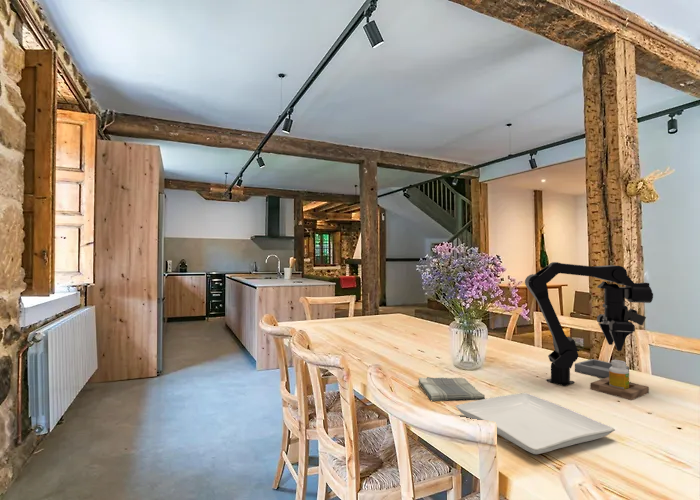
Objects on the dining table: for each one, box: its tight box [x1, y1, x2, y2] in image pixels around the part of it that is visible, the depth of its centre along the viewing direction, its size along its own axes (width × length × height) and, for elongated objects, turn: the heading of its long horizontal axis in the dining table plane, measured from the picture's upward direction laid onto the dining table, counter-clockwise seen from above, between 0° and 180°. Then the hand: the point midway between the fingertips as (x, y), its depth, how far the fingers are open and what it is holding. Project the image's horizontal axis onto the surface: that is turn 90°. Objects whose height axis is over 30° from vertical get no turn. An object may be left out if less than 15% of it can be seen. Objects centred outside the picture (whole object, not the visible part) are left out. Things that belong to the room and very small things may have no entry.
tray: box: [574, 358, 630, 379], centre depth 146 cm, size 13×13×3 cm
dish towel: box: [418, 376, 486, 402], centre depth 128 cm, size 19×18×3 cm
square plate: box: [454, 392, 616, 455], centre depth 100 cm, size 27×27×4 cm
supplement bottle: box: [609, 359, 630, 389], centre depth 127 cm, size 5×5×10 cm
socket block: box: [589, 377, 650, 401], centre depth 127 cm, size 12×12×2 cm
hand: (614, 347), depth 132 cm, fingers open, 9 cm apart
